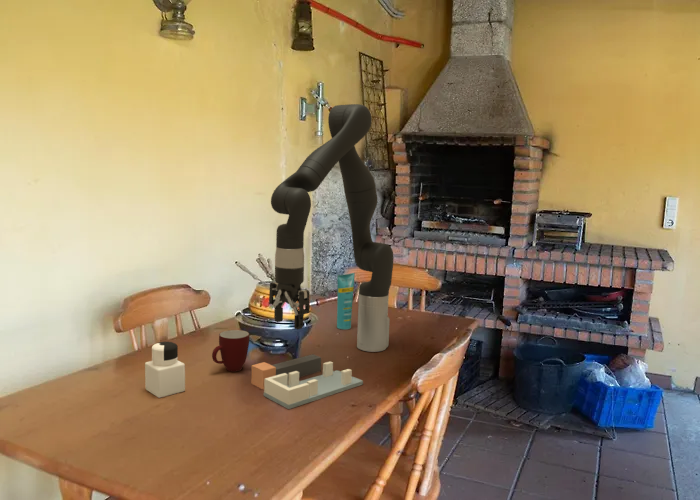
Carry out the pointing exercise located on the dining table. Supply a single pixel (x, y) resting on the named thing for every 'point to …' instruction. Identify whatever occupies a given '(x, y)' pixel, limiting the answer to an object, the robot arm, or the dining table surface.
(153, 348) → the medicine bottle
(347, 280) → the tube
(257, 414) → the dining table surface
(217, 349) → the mug
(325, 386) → the clip
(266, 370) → the bar
